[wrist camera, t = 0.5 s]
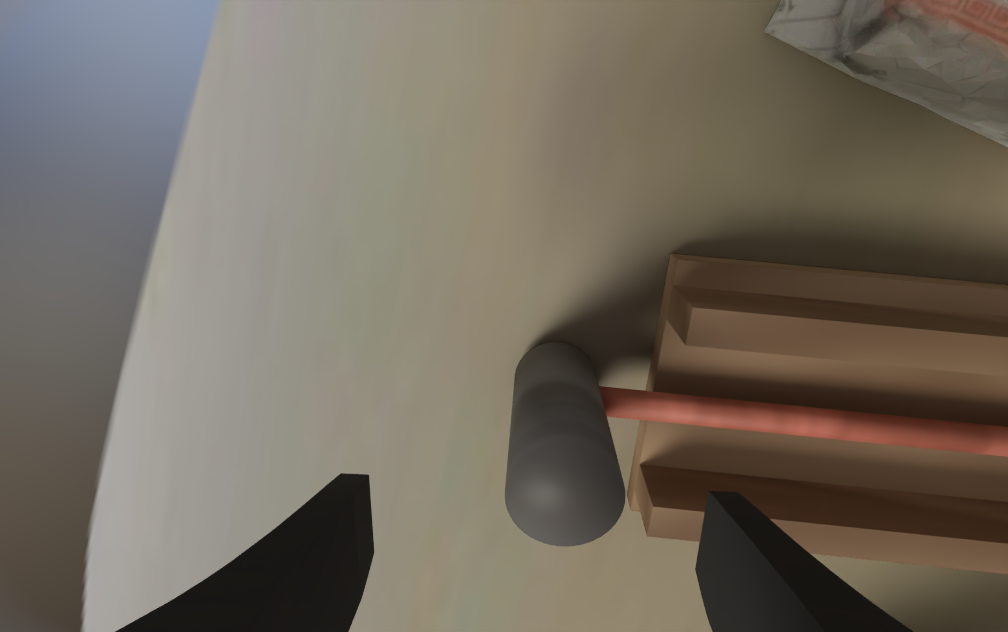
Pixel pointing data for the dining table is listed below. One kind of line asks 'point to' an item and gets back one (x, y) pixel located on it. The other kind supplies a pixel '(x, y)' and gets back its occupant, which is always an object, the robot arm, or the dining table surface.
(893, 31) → the packaged product
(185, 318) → the dining table surface
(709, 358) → the lane tray
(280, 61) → the dining table surface
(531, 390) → the grey and red rod
